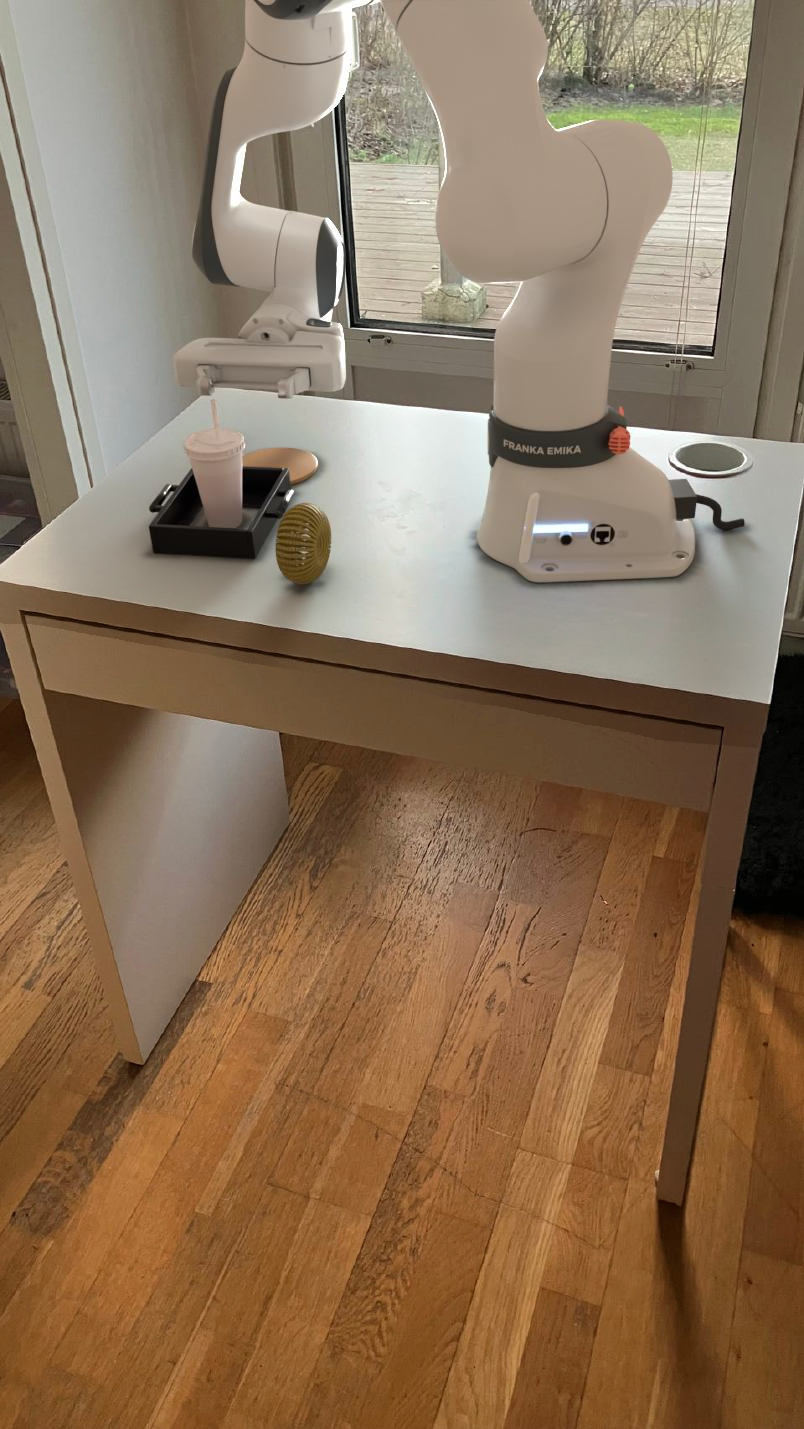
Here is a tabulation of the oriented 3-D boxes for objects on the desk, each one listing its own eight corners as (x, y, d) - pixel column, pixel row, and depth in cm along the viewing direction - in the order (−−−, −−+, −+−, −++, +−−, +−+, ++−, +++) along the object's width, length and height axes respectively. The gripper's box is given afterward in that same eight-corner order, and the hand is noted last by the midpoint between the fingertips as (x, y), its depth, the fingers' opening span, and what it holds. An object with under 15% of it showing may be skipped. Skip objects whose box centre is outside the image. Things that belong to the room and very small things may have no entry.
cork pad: (326, 452, 144) (325, 448, 144) (306, 489, 136) (306, 485, 136) (246, 449, 145) (246, 445, 145) (223, 485, 138) (222, 481, 137)
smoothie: (244, 538, 127) (228, 413, 119) (187, 534, 128) (167, 411, 120) (261, 511, 132) (247, 389, 124) (206, 507, 133) (189, 387, 125)
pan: (307, 494, 135) (305, 468, 133) (272, 560, 123) (269, 532, 121) (182, 489, 137) (178, 463, 135) (136, 552, 125) (131, 525, 123)
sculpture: (303, 557, 123) (296, 487, 118) (339, 562, 122) (333, 491, 117) (273, 596, 117) (264, 523, 112) (311, 601, 116) (304, 528, 111)
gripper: (189, 319, 144) (150, 360, 133) (354, 323, 140) (328, 366, 129) (196, 370, 147) (159, 414, 136) (357, 375, 144) (332, 420, 133)
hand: (243, 390), depth 133 cm, fingers open, 8 cm apart
